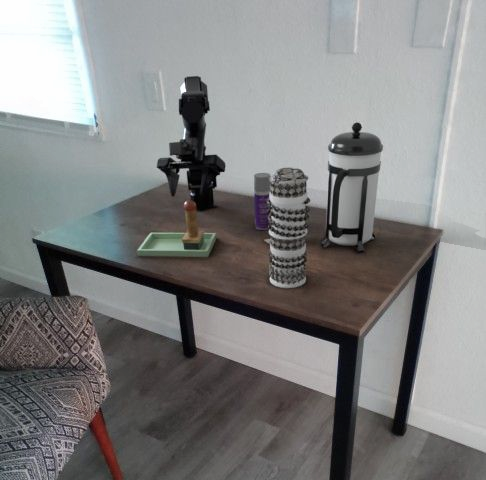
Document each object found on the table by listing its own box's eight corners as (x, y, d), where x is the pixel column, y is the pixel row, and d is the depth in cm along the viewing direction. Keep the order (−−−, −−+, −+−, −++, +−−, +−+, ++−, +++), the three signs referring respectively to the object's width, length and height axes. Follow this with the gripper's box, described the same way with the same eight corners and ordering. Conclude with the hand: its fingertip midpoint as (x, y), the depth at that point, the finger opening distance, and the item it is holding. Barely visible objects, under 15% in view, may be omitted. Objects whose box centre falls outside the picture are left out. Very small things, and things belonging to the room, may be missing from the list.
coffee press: (308, 236, 135) (311, 120, 118) (363, 229, 137) (374, 114, 121) (329, 262, 120) (337, 134, 104) (391, 254, 122) (407, 127, 106)
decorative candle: (287, 267, 119) (287, 162, 106) (316, 279, 113) (320, 169, 100) (259, 279, 114) (256, 171, 101) (288, 293, 108) (288, 179, 95)
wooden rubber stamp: (183, 251, 128) (177, 204, 121) (189, 241, 133) (184, 196, 127) (199, 251, 127) (194, 204, 121) (204, 242, 133) (200, 196, 126)
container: (260, 231, 139) (258, 178, 131) (252, 226, 143) (250, 174, 135) (274, 227, 141) (273, 175, 133) (266, 223, 144) (265, 171, 136)
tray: (138, 257, 128) (137, 250, 126) (151, 239, 138) (150, 232, 137) (208, 258, 125) (207, 251, 124) (216, 240, 135) (216, 232, 134)
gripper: (148, 129, 130) (141, 186, 129) (210, 123, 122) (202, 184, 122) (171, 146, 140) (164, 199, 139) (229, 142, 132) (222, 198, 132)
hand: (187, 195), depth 133 cm, fingers open, 9 cm apart
